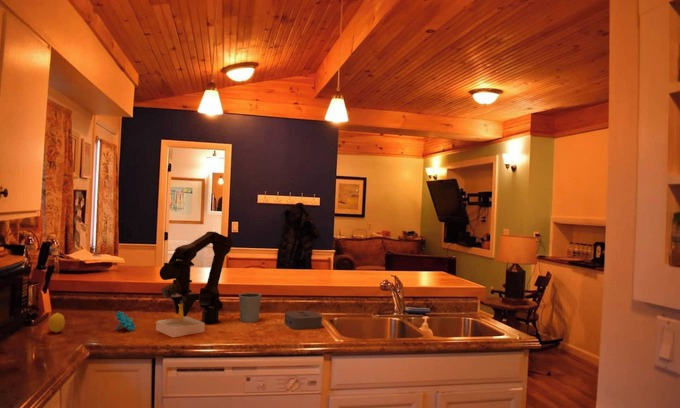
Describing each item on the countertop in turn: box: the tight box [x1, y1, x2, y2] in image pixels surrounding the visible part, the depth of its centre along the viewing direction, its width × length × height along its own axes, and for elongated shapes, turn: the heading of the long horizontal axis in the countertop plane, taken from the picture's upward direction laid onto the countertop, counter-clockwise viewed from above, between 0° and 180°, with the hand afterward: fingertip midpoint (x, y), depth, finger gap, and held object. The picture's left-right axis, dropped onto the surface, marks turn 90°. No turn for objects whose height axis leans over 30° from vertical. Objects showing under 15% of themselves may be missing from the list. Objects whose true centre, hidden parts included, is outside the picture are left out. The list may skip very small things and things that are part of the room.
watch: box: [178, 303, 184, 319], centre depth 199 cm, size 6×3×6 cm, turn 24°
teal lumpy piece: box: [114, 310, 137, 332], centre depth 197 cm, size 11×6×10 cm
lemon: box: [47, 312, 66, 334], centre depth 188 cm, size 6×6×8 cm
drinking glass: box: [238, 292, 262, 324], centre depth 223 cm, size 10×10×12 cm
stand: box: [155, 316, 206, 338], centre depth 199 cm, size 14×14×4 cm
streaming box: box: [284, 310, 323, 330], centre depth 219 cm, size 14×14×5 cm
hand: (181, 314), depth 199 cm, fingers closed on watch, 6 cm apart
